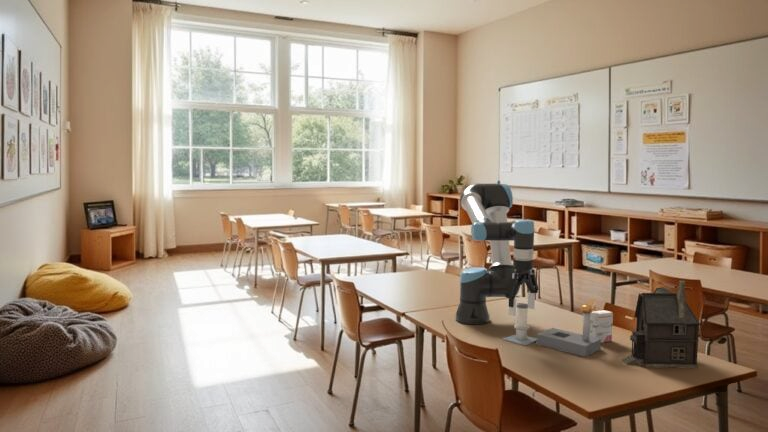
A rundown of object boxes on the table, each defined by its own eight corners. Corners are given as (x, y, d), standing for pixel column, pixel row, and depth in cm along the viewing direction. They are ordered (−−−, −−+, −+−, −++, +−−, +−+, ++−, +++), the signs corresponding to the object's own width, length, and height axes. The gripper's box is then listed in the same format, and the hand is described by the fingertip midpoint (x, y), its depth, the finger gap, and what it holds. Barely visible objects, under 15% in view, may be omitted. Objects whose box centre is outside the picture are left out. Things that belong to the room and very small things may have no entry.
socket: (536, 343, 217) (537, 306, 216) (552, 337, 226) (553, 301, 224) (585, 356, 203) (586, 316, 202) (600, 349, 211) (601, 310, 210)
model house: (612, 351, 209) (615, 272, 207) (675, 352, 209) (679, 273, 206) (629, 367, 193) (633, 281, 190) (698, 368, 192) (703, 282, 190)
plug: (510, 338, 223) (511, 304, 221) (518, 335, 227) (519, 301, 225) (523, 342, 218) (524, 307, 217) (531, 338, 222) (533, 304, 221)
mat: (503, 339, 223) (503, 338, 223) (517, 334, 230) (517, 333, 230) (525, 345, 215) (525, 344, 215) (538, 340, 222) (538, 339, 222)
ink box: (603, 337, 226) (604, 309, 225) (612, 341, 221) (613, 312, 220) (586, 340, 222) (587, 311, 221) (595, 343, 218) (596, 314, 217)
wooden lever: (589, 309, 221) (589, 297, 221) (598, 310, 219) (599, 298, 219) (580, 318, 208) (581, 306, 207) (590, 320, 206) (591, 307, 205)
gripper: (513, 264, 208) (512, 319, 211) (548, 256, 225) (546, 307, 228) (496, 261, 214) (495, 315, 216) (532, 254, 231) (530, 304, 233)
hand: (521, 311), depth 222 cm, fingers open, 13 cm apart
